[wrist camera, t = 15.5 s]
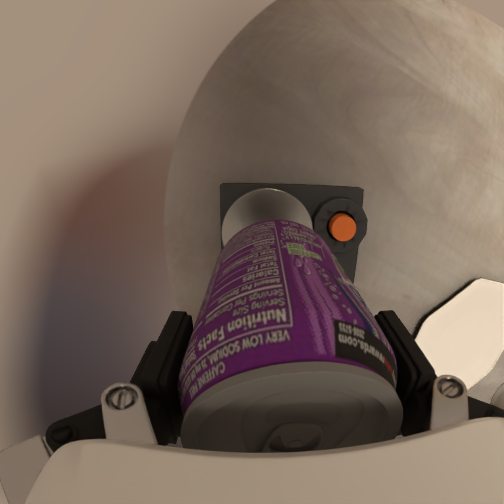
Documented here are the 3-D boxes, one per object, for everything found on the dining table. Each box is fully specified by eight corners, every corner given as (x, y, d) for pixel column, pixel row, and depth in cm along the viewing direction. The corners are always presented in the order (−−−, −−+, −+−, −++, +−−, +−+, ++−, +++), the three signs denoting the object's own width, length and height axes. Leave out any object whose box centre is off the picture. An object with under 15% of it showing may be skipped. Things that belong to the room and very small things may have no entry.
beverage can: (317, 328, 19) (359, 489, 8) (211, 314, 19) (170, 481, 8) (344, 226, 17) (462, 354, 5) (224, 207, 17) (155, 330, 5)
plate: (439, 266, 31) (445, 270, 30) (527, 286, 32) (532, 290, 31) (373, 402, 39) (376, 408, 38) (468, 394, 40) (472, 399, 38)
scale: (225, 307, 33) (222, 321, 31) (221, 183, 29) (217, 186, 26) (346, 307, 33) (353, 320, 30) (360, 187, 29) (370, 191, 26)
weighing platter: (223, 274, 29) (223, 276, 28) (221, 187, 26) (220, 188, 26) (309, 275, 29) (309, 276, 28) (314, 189, 26) (315, 189, 25)
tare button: (327, 237, 28) (330, 241, 26) (329, 212, 27) (332, 215, 26) (350, 237, 28) (355, 241, 26) (353, 213, 27) (357, 216, 26)
